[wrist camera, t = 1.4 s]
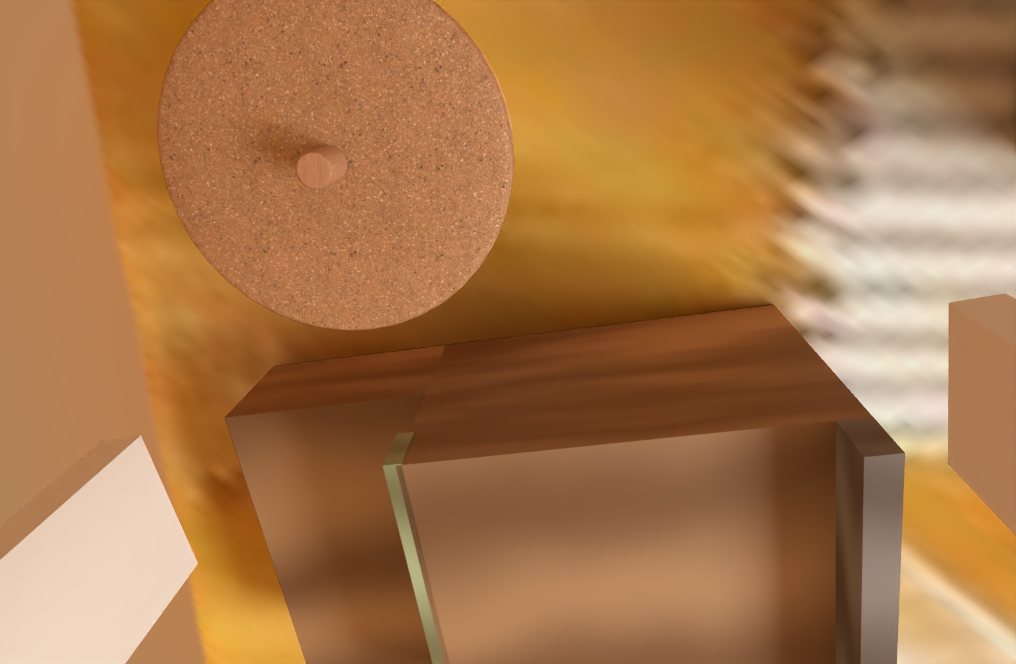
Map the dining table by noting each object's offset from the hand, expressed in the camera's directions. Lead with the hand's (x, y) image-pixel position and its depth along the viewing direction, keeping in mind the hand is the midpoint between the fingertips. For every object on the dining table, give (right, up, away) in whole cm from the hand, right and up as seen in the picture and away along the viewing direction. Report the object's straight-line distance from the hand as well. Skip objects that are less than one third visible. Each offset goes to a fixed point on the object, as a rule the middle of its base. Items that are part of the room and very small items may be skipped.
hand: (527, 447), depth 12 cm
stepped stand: (+1, -5, +21) cm, 22 cm away
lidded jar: (-5, +10, +17) cm, 20 cm away
